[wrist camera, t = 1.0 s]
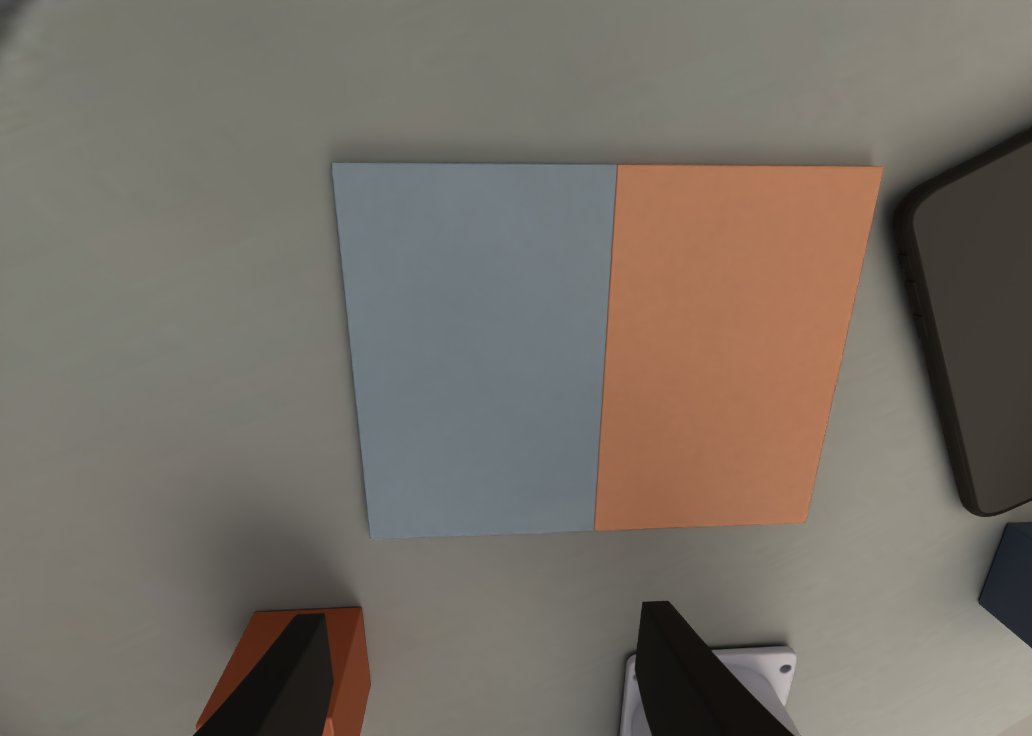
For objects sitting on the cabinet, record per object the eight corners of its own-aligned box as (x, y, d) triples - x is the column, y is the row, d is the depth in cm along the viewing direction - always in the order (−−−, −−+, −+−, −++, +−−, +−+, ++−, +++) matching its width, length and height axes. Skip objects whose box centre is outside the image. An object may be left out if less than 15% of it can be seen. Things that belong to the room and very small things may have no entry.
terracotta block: (371, 684, 24) (345, 806, 19) (270, 690, 24) (218, 815, 19) (362, 606, 23) (331, 717, 18) (254, 611, 22) (194, 725, 18)
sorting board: (799, 516, 23) (805, 523, 22) (372, 532, 21) (370, 540, 21) (874, 166, 18) (884, 166, 17) (334, 162, 17) (330, 161, 16)
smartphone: (974, 529, 22) (897, 203, 17) (956, 516, 23) (876, 201, 18) (1149, 451, 22) (1122, 86, 16) (1123, 440, 22) (1089, 91, 17)
